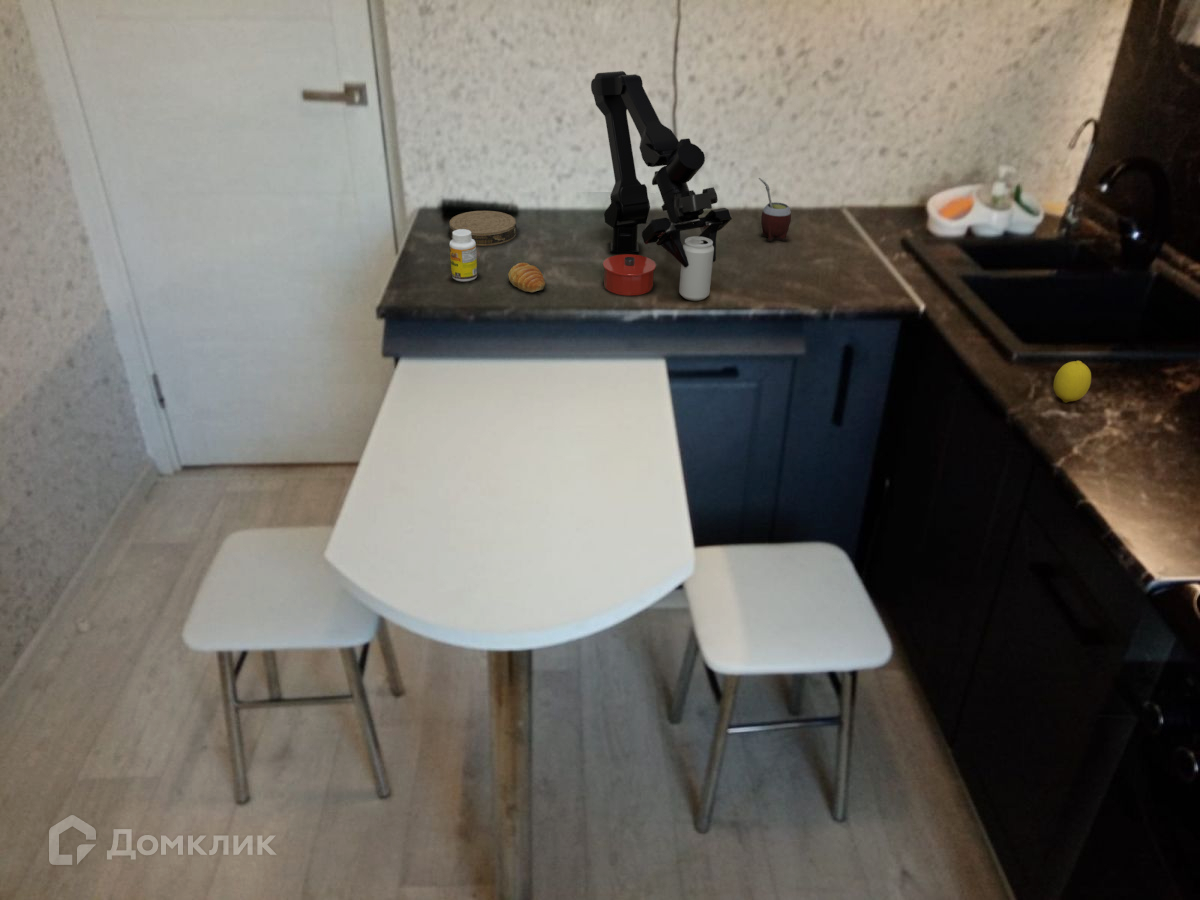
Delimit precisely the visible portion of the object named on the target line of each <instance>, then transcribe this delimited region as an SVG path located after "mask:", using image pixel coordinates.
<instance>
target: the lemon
mask: <svg viewBox="0 0 1200 900" xmlns="http://www.w3.org/2000/svg"><path fill="white" fill-rule="evenodd" d="M1091 383H1092V372H1091V369H1090V368H1089V367H1088V366H1087V365H1086V364H1085V363H1083V362H1082V361H1081V360H1076V361H1075V360H1073V361H1068V362H1067V363H1064V364H1063V365H1062V366H1061V367H1060V368H1059V369H1058V370H1057V372H1056V374H1055V376H1054V380H1053V384H1052V385H1053V391H1054V393H1055V395H1056V396H1057V397H1058V398H1059V399H1061V401H1062V402H1063V403H1070V402H1077V401H1079V400H1080V399H1082V398H1083V397H1084V396H1086V394H1087V393H1088V391H1089V389H1090V387H1091Z"/></svg>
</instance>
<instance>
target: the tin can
mask: <svg viewBox="0 0 1200 900" xmlns="http://www.w3.org/2000/svg"><path fill="white" fill-rule="evenodd" d="M458 229H466V230H470V231H471V236H472V239H473V240H474V241H475V242H476V247H477V246H478V247H481V246H483V247H484V246H487V247H488V246H497V245H501V244H505V243H508V242H510V241H511V240H513V239H515V237H517V236H516V235H517V222H516V218H515V217H514V216H512V215H511V214H508V213H505V212H502V211H497V210H496V211H495V210H473V211H466V212H461V213H459V214H457V215H455V216H453V217H451V219H450V220H449V231H450V232H449V234H450V235H449V236H450V238H451V240H452V239H453V238H452V237H453V235H452V232H453V231H455V230H458Z"/></svg>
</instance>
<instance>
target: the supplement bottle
mask: <svg viewBox="0 0 1200 900" xmlns="http://www.w3.org/2000/svg"><path fill="white" fill-rule="evenodd" d="M452 235H453V237H452V238H453V239H452V238H451V240H449V243H448V244H449V246H448V247H449V257H450V271H451V278H452V279H453V280H454V281H457V282H462V283H463V282H464V283H465V282H466V283H467V282H471V281H474V280H475V279H477V277H478V258H477V257H478V256H477V246H476V242H475V241H474V240H473V239H472V236H471V231H470V230H466V229H458V230H455V231H453V232H452Z"/></svg>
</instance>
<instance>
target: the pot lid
mask: <svg viewBox="0 0 1200 900" xmlns="http://www.w3.org/2000/svg"><path fill="white" fill-rule="evenodd" d="M602 267H603V269H604V268H605V270H607V271H608V272H611V273H613V274H617V275H622V276H640V275H645V274H649V273H651V272H653V271H654V272H655V270H656V268H657V263H656V261H654V260H653V259H651V258H649V257H647V256H644V255H641V254H633V253H622V254H616V255H612V256H609V257H607V258H606V259H604V260H603V262H602Z"/></svg>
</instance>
